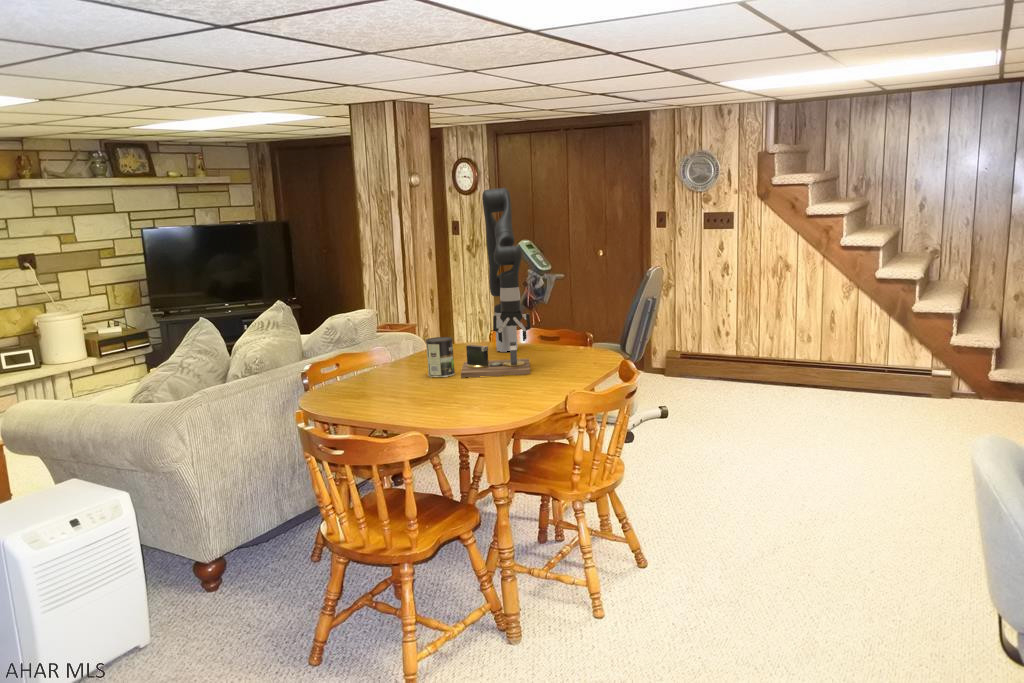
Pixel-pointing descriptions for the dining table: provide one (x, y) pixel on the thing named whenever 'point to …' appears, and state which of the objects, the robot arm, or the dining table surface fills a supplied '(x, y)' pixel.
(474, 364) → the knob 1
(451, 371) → the coffee can
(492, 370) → the base plate
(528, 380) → the dining table surface
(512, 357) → the knob
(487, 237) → the robot arm
